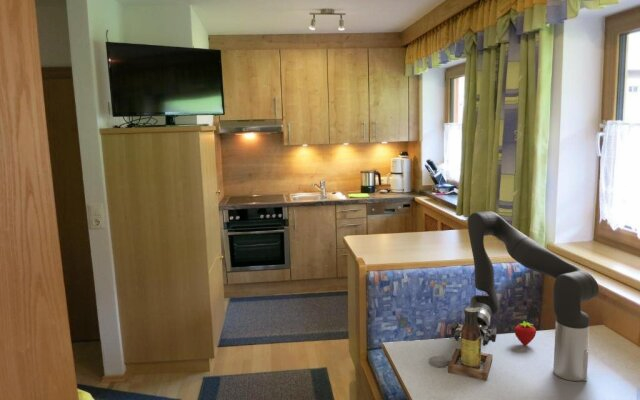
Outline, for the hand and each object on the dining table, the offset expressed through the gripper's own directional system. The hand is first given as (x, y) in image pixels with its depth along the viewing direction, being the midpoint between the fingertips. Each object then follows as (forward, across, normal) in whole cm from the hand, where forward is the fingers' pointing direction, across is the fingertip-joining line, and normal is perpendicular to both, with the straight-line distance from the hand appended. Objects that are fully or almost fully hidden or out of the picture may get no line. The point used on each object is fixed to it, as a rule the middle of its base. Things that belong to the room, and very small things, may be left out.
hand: (470, 340), depth 151 cm
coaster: (-1, -10, +10) cm, 14 cm away
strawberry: (-25, +15, +10) cm, 31 cm away
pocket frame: (-2, 0, +10) cm, 10 cm away
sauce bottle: (-2, 0, +10) cm, 10 cm away
